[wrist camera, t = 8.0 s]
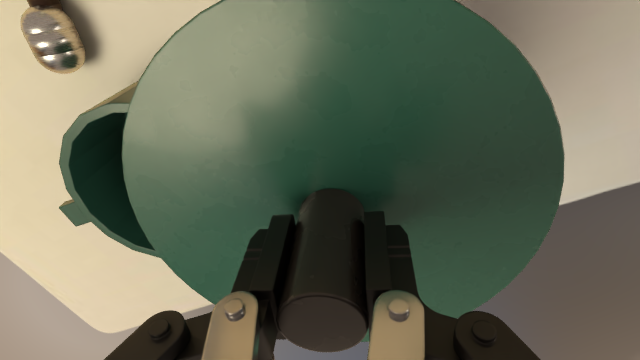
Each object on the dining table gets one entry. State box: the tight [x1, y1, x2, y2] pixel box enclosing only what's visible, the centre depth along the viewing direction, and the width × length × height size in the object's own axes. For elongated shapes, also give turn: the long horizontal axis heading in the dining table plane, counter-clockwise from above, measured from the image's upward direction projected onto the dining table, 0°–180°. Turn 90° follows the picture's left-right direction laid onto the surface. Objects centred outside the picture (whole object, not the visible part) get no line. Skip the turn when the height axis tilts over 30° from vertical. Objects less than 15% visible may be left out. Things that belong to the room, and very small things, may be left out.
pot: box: [59, 81, 161, 258], centre depth 34 cm, size 16×21×8 cm
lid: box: [122, 0, 564, 352], centre depth 13 cm, size 17×17×6 cm
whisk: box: [21, 0, 86, 74], centre depth 30 cm, size 10×4×4 cm, turn 7°
